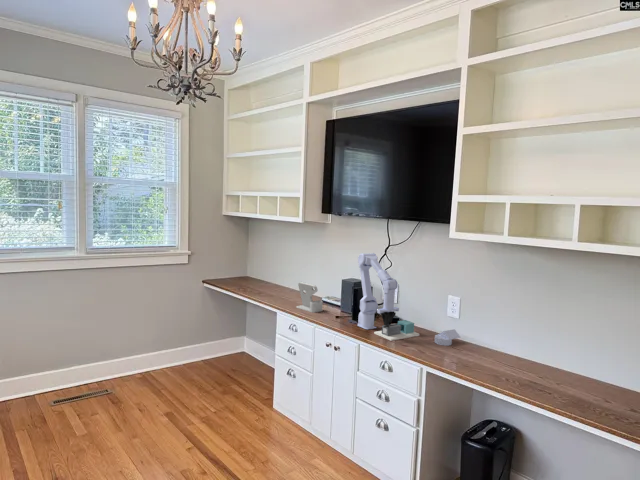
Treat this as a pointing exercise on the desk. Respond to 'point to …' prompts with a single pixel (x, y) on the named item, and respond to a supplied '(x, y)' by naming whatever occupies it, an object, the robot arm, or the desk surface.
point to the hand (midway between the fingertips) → (387, 324)
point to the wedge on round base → (446, 337)
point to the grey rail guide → (392, 329)
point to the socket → (406, 326)
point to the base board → (398, 336)
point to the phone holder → (309, 298)
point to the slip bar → (385, 328)
